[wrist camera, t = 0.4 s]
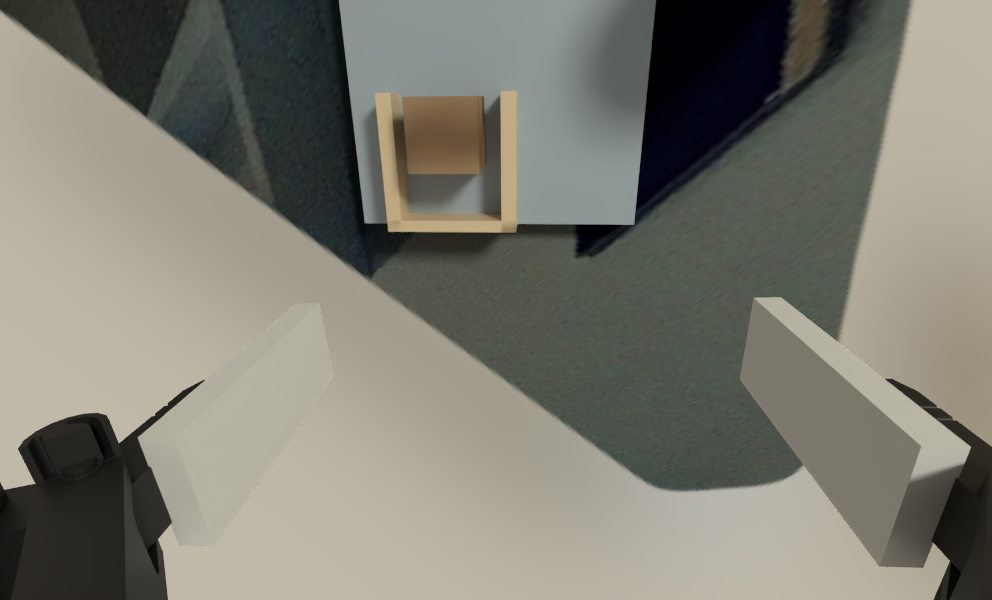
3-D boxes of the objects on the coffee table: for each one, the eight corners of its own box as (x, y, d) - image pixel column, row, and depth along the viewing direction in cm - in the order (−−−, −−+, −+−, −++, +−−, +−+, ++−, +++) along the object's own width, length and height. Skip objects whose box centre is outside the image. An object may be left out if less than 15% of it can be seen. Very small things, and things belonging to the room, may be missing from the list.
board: (327, -197, 29) (293, -246, 25) (669, -216, 28) (693, -272, 23) (372, 217, 39) (353, 231, 34) (628, 218, 37) (640, 233, 33)
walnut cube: (418, 97, 33) (401, 96, 29) (484, 96, 33) (477, 95, 29) (423, 165, 35) (408, 174, 31) (485, 164, 34) (479, 174, 30)
